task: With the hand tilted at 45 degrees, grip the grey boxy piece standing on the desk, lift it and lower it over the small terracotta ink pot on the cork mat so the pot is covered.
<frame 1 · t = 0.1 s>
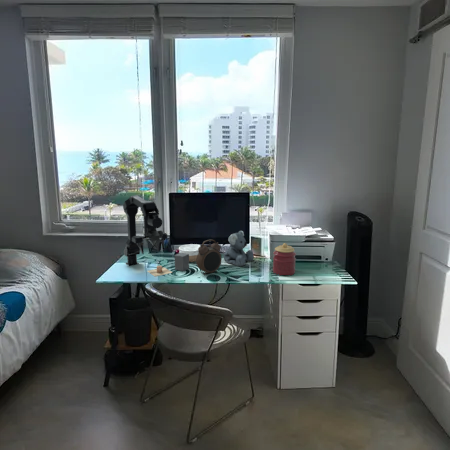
hand: (150, 252, 194), 15 cm above the table, tool pointing down, fingers open, 9 cm apart
grey boxy piece: (182, 269, 209), on the table
koala plush: (236, 261, 225), on the table
bowl: (191, 259, 229), on the table
alarm clock: (209, 273, 204), on the table
canister: (283, 272, 205), on the table
ink pot: (159, 271, 204), resting on cork mat
cork mat: (159, 272, 205), on the table
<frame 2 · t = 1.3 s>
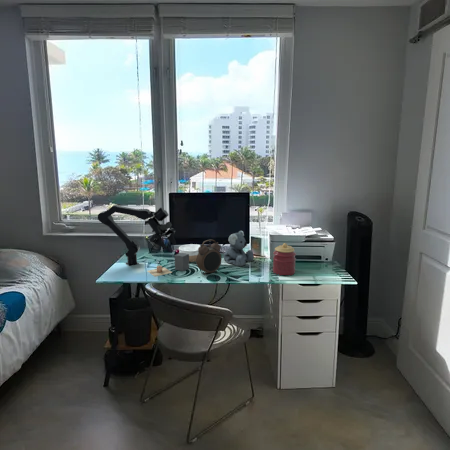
hand: (170, 246, 210), 13 cm above the table, tool tilted 45°, fingers open, 9 cm apart
nothing on the table moved.
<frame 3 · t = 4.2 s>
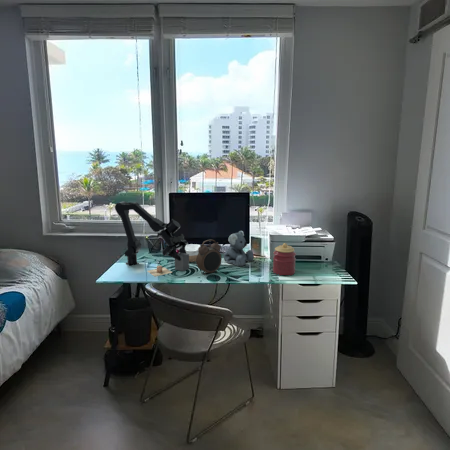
hand: (183, 258, 207), 7 cm above the table, tool tilted 45°, fingers closed on grey boxy piece, 6 cm apart
grey boxy piece: (182, 269, 209), on the table, touching gripper
everything else where it was.
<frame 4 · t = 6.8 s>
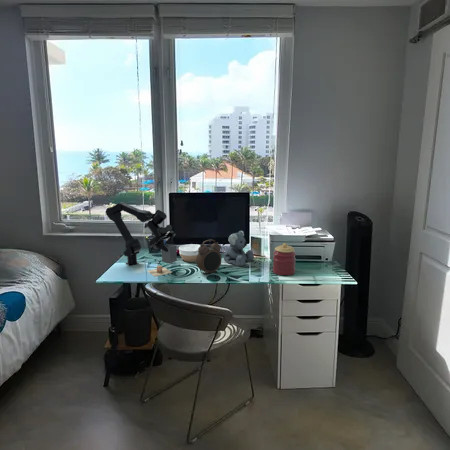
hand: (171, 250, 203), 13 cm above the table, tool tilted 45°, fingers closed on grey boxy piece, 6 cm apart
grey boxy piece: (169, 261, 206), point 6 cm above the table, touching gripper
everything else where it was.
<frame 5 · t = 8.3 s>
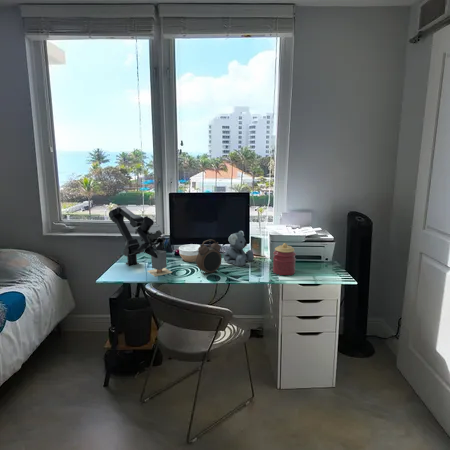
hand: (160, 256, 202), 10 cm above the table, tool tilted 45°, fingers closed on grey boxy piece, 6 cm apart
grey boxy piece: (159, 267, 204), point 3 cm above the table, touching gripper
everything else where it was.
when the fingers open (9 cm above the table, at t = 9.5 s): grey boxy piece stays where it is, resting on cork mat.
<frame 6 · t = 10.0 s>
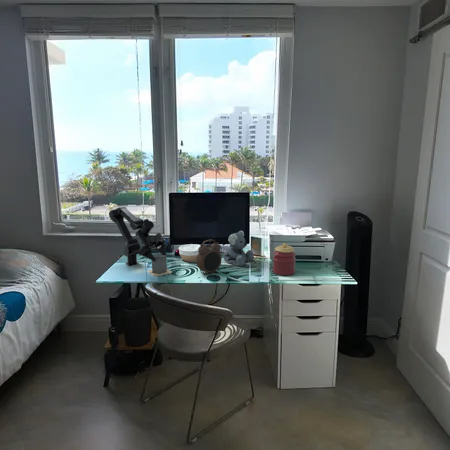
hand: (160, 258, 202), 9 cm above the table, tool tilted 45°, fingers open, 9 cm apart
grey boxy piece: (159, 271, 204), point 1 cm above the table, touching cork mat
everything else where it was.
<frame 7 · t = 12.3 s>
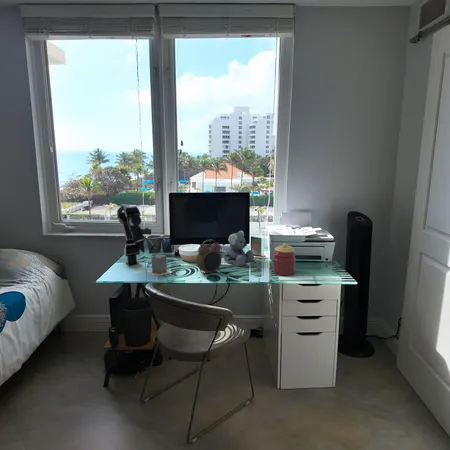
hand: (143, 252, 207), 11 cm above the table, tool tilted 20°, fingers open, 9 cm apart
nothing on the table moved.
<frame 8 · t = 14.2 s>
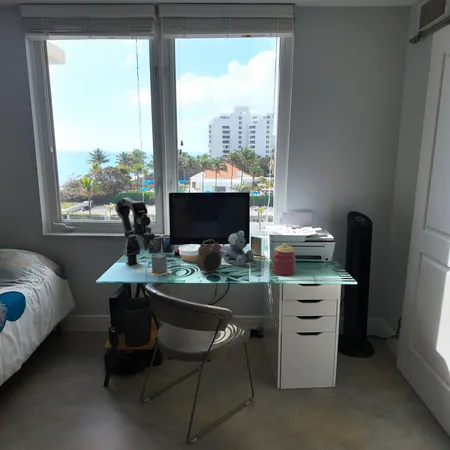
hand: (140, 249, 206), 13 cm above the table, tool pointing down, fingers open, 9 cm apart
nothing on the table moved.
at the end: grey boxy piece 0.0 cm from the ink pot (horizontally); grey boxy piece point 0.6 cm above the table; grey boxy piece tilted 0° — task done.
